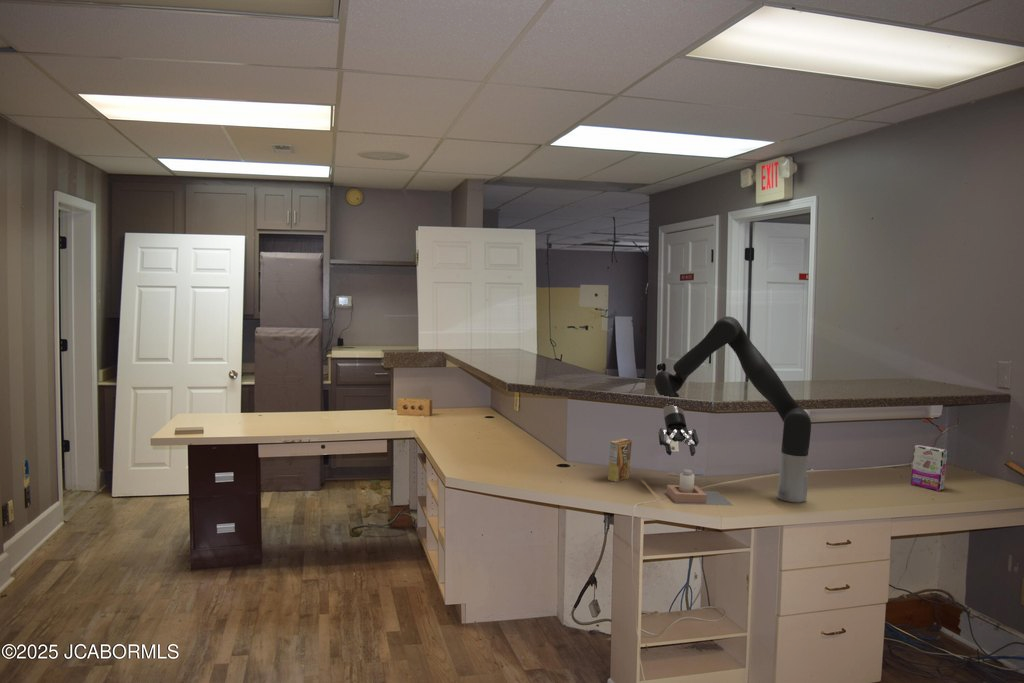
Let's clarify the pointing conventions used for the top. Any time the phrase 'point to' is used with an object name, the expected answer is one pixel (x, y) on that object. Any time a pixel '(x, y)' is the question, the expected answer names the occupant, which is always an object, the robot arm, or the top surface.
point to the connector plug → (686, 481)
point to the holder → (696, 496)
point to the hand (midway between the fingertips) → (681, 454)
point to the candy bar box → (929, 467)
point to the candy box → (619, 459)
